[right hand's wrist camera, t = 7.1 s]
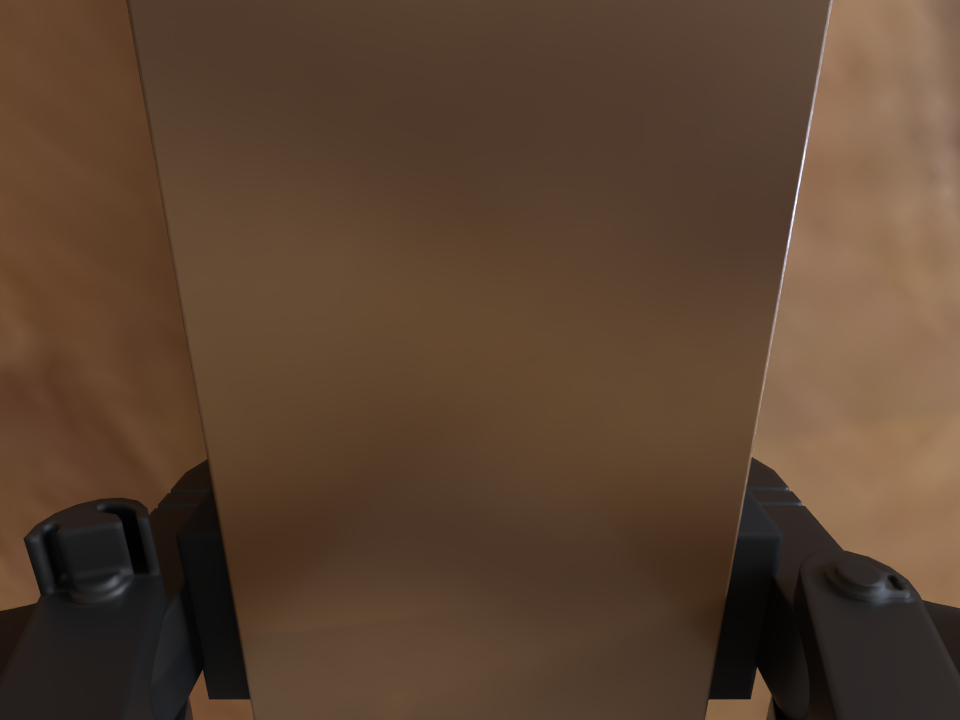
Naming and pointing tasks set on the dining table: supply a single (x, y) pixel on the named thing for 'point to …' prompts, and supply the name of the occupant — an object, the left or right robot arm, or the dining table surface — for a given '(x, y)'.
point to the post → (479, 333)
